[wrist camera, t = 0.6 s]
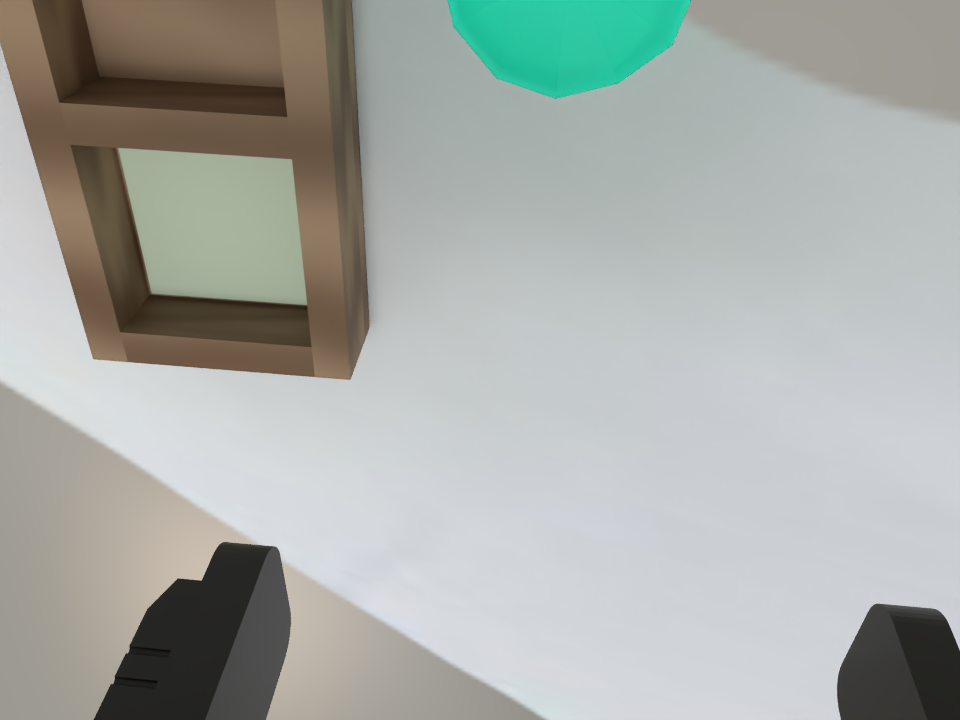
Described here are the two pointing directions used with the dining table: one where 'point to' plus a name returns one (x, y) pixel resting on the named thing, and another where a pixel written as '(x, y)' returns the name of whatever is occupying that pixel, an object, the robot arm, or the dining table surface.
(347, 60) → the slot rack
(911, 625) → the robot arm
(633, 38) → the candle
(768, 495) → the dining table surface
